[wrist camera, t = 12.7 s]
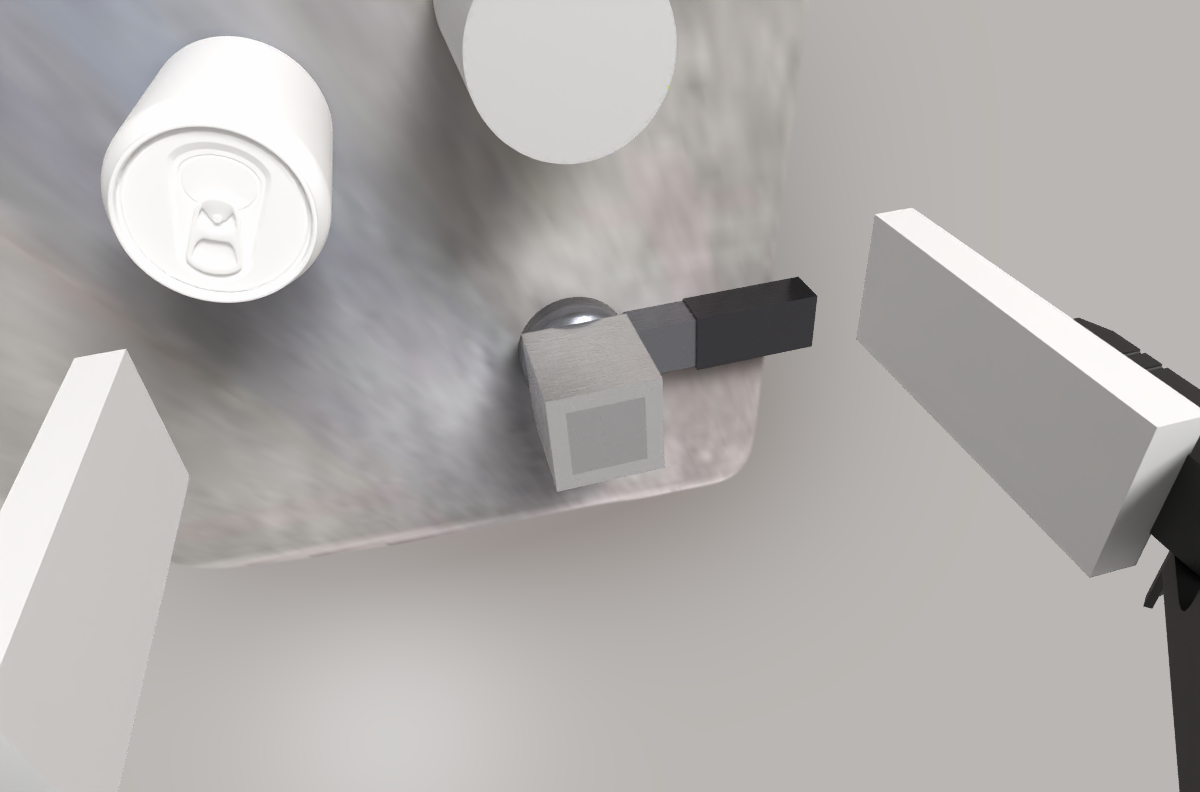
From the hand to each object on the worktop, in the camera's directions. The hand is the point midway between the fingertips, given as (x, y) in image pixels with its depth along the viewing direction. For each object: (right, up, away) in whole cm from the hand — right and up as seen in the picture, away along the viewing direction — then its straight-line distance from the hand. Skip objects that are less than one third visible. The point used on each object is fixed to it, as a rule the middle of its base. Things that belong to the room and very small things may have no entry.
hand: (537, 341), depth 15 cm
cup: (-3, +19, +25) cm, 31 cm away
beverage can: (-16, +13, +25) cm, 32 cm away
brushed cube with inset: (0, +1, +35) cm, 35 cm away
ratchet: (+5, +3, +38) cm, 39 cm away
